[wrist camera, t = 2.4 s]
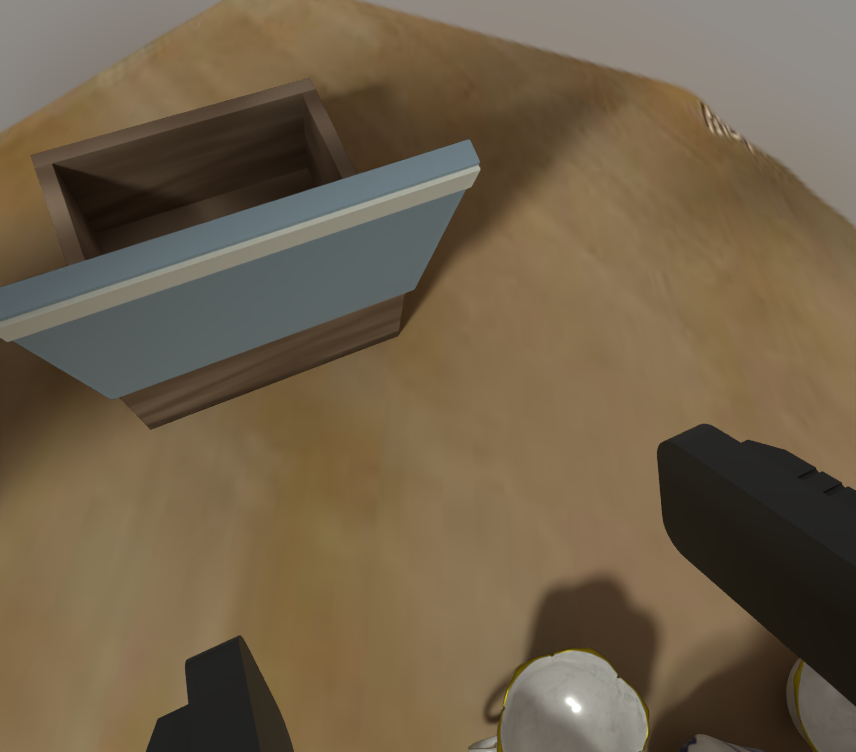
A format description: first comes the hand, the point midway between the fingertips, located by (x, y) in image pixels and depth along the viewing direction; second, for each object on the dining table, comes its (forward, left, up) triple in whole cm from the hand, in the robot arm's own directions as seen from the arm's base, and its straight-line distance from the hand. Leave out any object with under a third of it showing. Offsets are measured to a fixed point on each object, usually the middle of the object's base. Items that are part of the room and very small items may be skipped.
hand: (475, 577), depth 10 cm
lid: (-8, +14, -19) cm, 25 cm away
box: (-13, +22, -36) cm, 44 cm away
